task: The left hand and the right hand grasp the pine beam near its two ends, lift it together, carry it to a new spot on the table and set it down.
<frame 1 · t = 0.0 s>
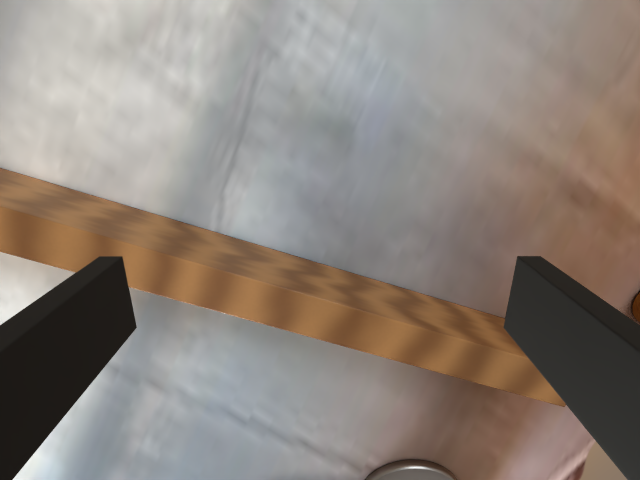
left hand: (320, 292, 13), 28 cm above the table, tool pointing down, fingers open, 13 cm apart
beam: (243, 258, 43), on the table
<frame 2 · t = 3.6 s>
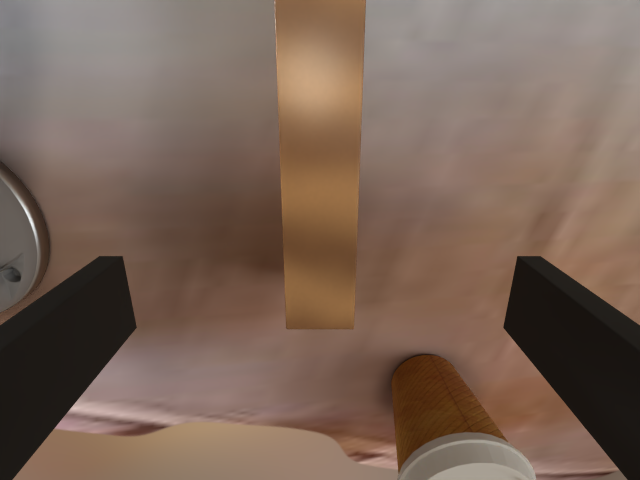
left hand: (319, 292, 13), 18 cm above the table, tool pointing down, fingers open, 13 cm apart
disposable coffee cup: (423, 380, 36), on the table
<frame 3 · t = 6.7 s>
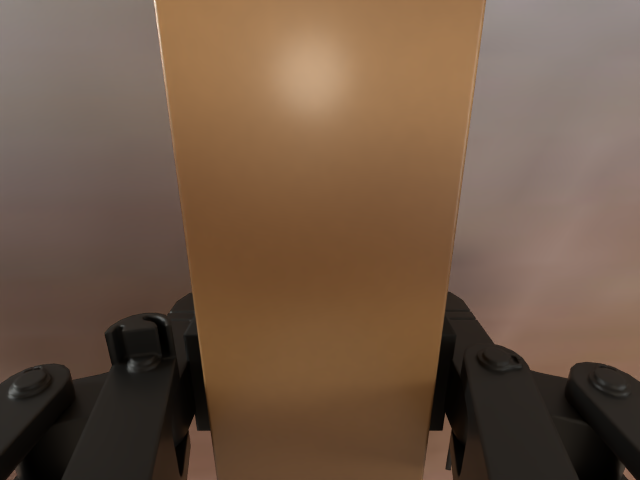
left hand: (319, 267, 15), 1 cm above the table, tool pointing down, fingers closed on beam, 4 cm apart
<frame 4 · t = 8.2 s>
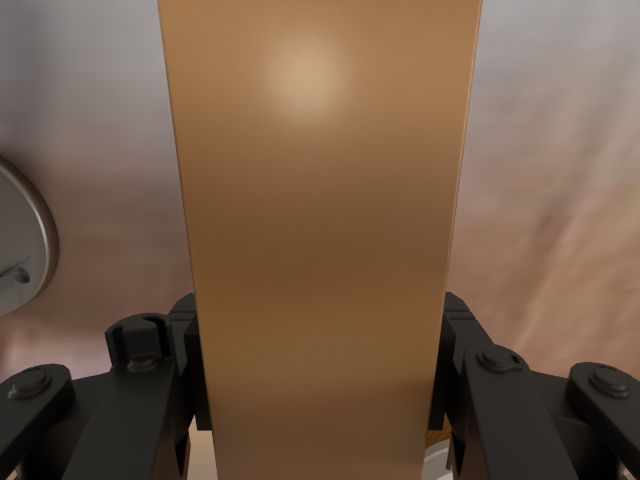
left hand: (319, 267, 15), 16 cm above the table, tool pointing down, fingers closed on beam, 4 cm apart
disposable coffee cup: (427, 383, 36), on the table
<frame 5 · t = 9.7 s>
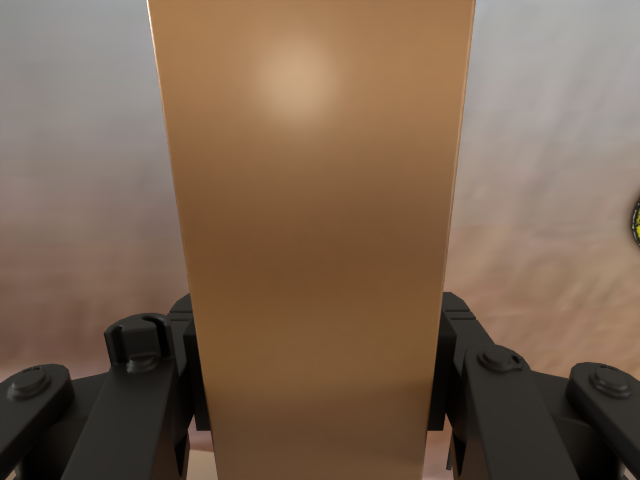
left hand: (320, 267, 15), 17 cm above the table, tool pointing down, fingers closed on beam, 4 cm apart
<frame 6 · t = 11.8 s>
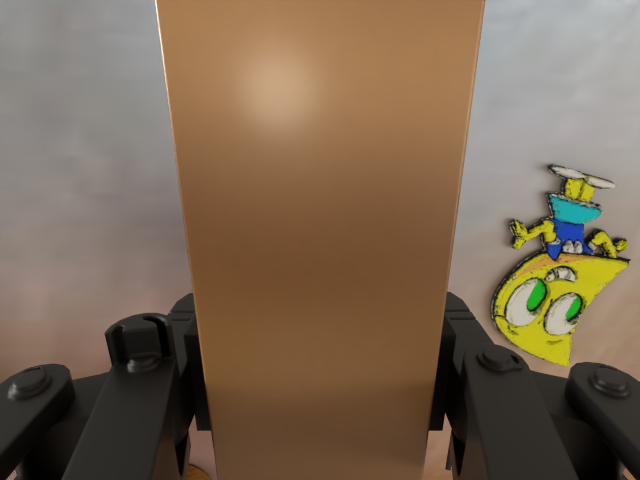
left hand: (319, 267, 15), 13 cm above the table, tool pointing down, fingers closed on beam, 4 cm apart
toy 2: (553, 272, 29), on the table
when the left hand's fingers open (2 cm above the table, at t = 13.1 s): beam drops 1 cm, on the table.
when the right hand's fingers open (2 cm above the table, at t = 13.1 s): beam drops 1 cm, on the table.
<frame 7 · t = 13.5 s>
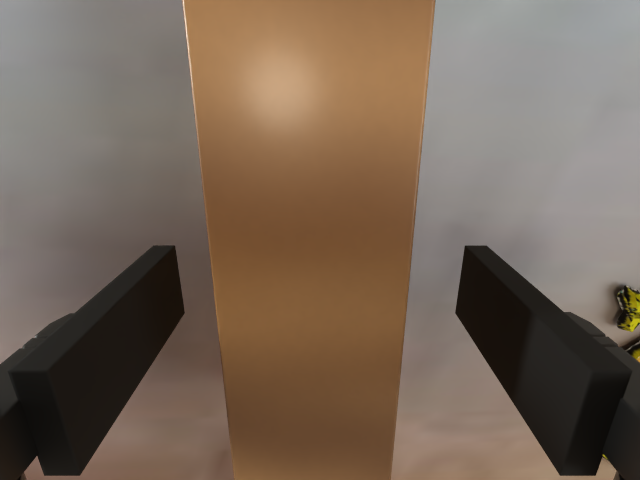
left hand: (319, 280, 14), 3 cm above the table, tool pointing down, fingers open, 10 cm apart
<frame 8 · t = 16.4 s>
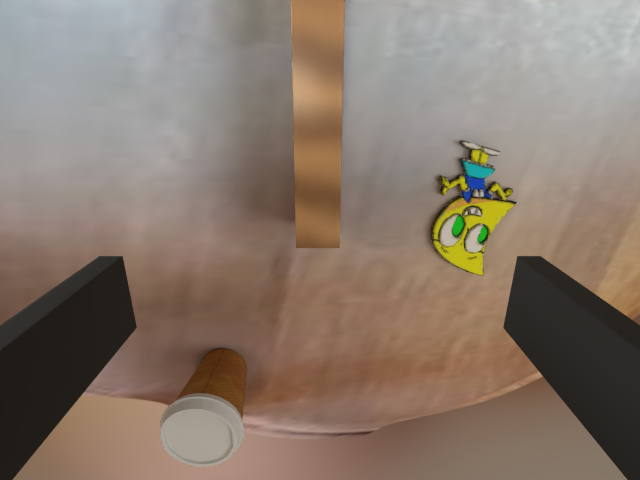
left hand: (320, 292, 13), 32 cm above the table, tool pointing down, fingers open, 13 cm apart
toy 2: (468, 210, 45), on the table
disposable coffee cup: (225, 366, 53), on the table
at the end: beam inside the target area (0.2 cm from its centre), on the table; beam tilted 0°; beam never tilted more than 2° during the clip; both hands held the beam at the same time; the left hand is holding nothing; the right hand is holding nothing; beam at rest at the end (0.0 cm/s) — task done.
